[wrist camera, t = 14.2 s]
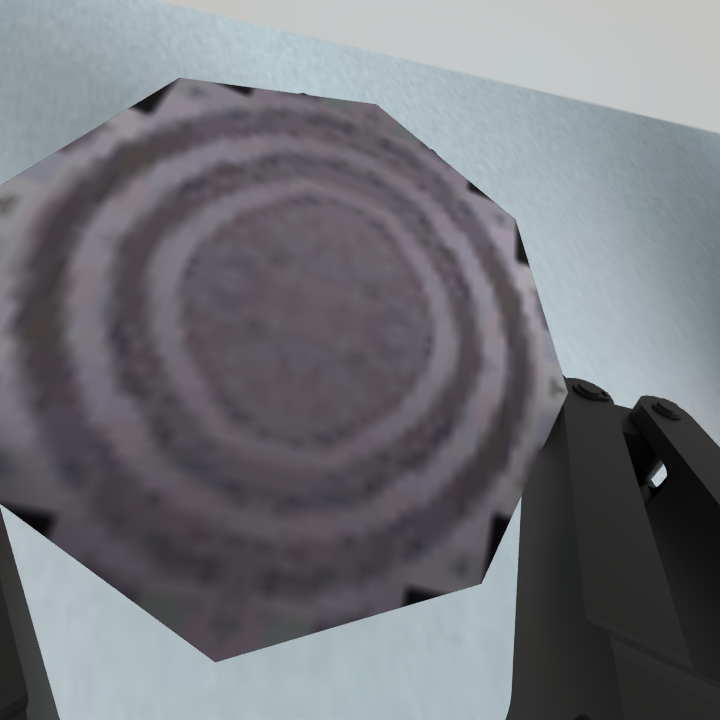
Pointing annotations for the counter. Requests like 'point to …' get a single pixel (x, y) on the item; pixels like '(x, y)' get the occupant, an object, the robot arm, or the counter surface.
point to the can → (266, 363)
